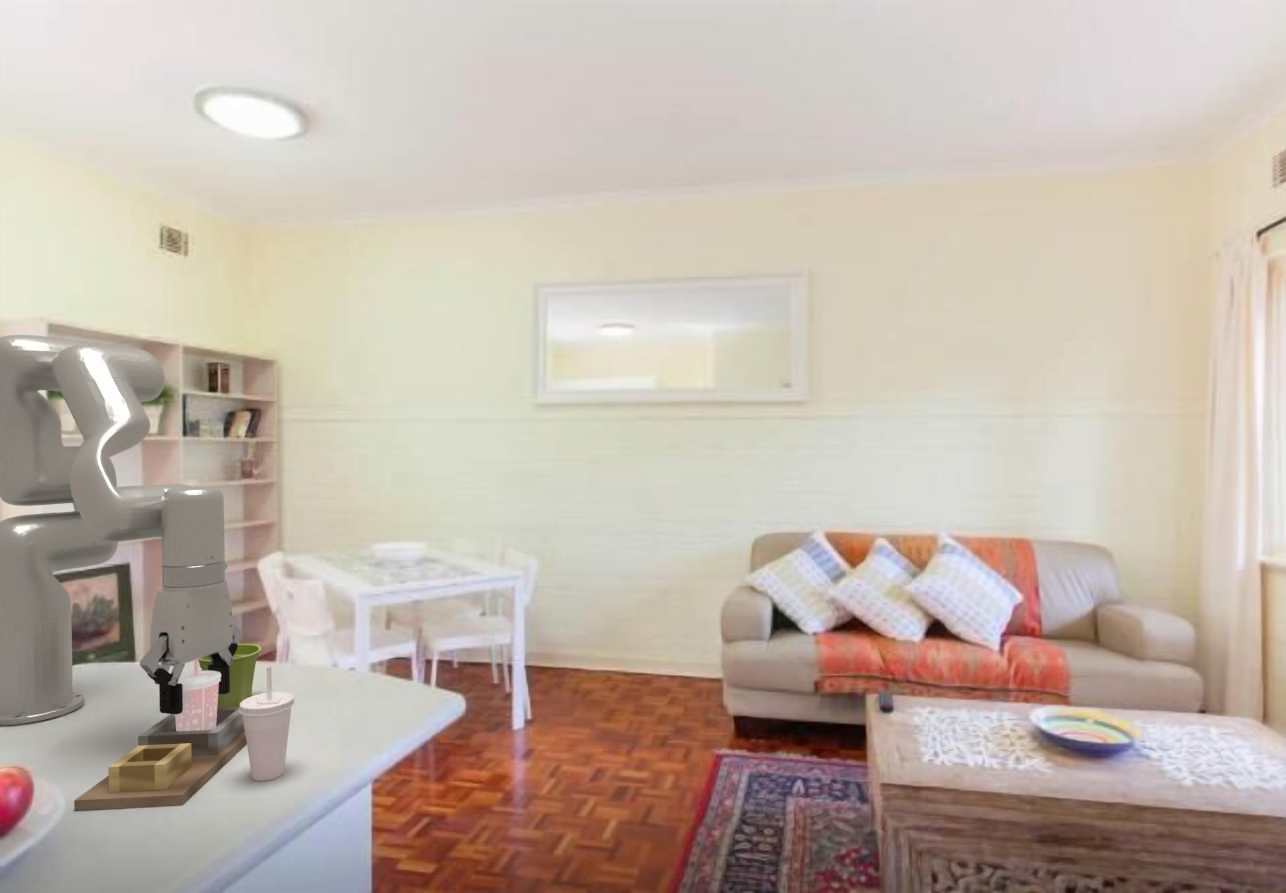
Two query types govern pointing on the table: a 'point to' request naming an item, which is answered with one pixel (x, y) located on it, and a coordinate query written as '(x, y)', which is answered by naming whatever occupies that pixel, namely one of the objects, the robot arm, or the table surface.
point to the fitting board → (167, 764)
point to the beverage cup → (198, 700)
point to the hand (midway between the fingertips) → (196, 701)
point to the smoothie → (267, 730)
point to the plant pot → (237, 675)
